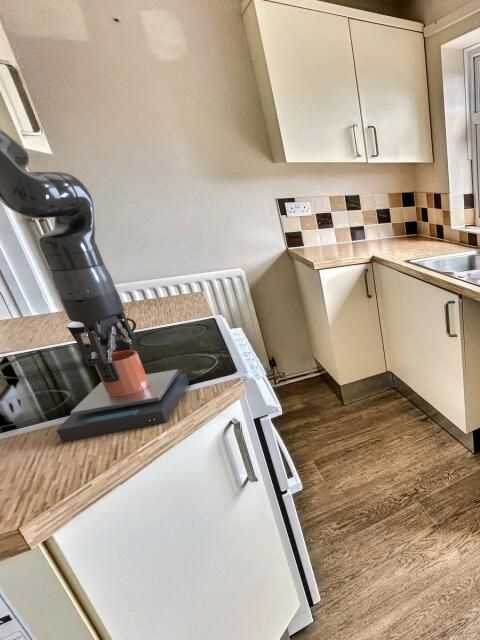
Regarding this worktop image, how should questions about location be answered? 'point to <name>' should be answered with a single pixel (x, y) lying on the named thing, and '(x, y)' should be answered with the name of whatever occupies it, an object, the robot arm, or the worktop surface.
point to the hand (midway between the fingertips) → (121, 371)
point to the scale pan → (103, 401)
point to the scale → (124, 415)
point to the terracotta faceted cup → (126, 374)
